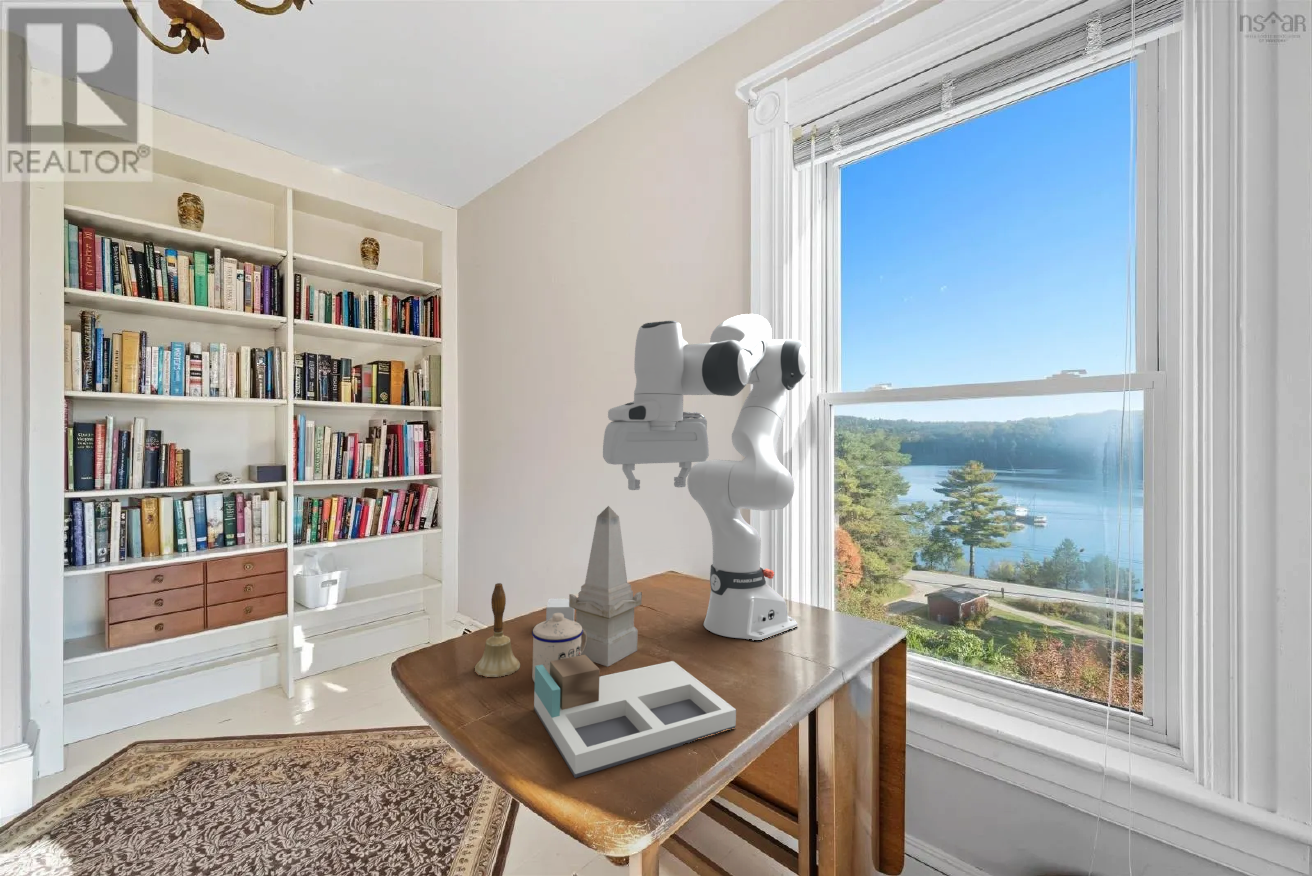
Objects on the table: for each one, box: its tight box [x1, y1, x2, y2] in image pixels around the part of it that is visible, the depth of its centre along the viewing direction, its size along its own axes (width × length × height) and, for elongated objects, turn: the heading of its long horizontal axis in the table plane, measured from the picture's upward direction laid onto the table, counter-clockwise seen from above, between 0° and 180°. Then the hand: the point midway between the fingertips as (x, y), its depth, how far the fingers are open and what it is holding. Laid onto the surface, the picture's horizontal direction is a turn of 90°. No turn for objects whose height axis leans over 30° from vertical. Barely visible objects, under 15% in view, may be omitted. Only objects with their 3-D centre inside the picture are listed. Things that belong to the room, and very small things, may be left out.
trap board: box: [533, 660, 737, 779], centre depth 83 cm, size 26×19×7 cm
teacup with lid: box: [531, 613, 587, 683], centre depth 98 cm, size 12×9×12 cm
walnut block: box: [550, 655, 601, 710], centre depth 84 cm, size 6×6×5 cm
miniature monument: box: [568, 505, 643, 667], centre depth 108 cm, size 10×10×30 cm
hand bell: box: [474, 582, 521, 678], centre depth 100 cm, size 8×8×16 cm
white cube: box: [545, 598, 575, 621], centre depth 120 cm, size 6×6×6 cm
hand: (657, 488), depth 95 cm, fingers open, 8 cm apart
